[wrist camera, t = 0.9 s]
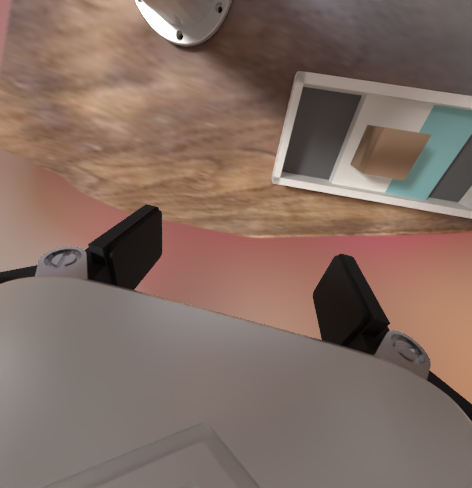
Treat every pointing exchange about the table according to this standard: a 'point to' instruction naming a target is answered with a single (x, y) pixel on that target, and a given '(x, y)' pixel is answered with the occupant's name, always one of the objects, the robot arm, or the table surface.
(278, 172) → the tray
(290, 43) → the table surface
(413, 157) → the walnut block
